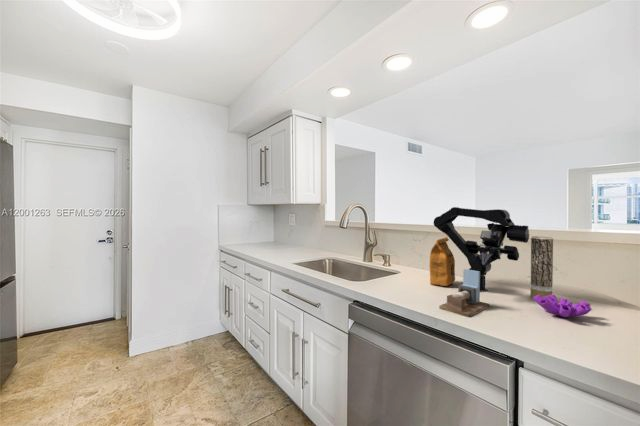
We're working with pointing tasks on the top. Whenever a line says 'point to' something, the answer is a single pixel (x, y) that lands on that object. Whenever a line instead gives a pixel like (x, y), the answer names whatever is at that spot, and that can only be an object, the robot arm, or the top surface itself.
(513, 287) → the top surface
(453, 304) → the pipe stand
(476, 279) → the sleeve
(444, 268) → the coffee package
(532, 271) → the paper tube
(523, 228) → the robot arm
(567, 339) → the top surface
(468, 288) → the dark grey block
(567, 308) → the purple coral
